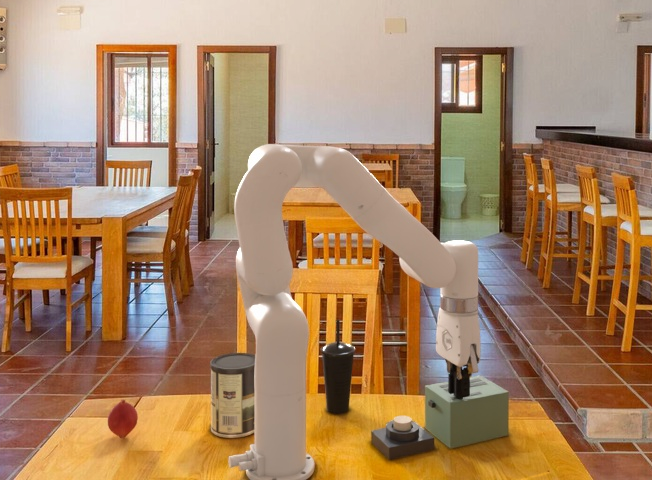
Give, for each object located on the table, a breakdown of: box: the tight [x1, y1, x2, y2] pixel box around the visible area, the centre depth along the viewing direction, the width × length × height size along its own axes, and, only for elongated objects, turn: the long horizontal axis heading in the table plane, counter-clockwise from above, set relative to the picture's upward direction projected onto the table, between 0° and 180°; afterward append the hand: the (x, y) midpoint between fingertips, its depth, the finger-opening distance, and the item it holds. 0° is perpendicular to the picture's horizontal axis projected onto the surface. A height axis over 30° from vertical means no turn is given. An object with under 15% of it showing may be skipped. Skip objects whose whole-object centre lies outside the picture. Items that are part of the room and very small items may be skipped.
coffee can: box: [209, 352, 256, 439], centre depth 148 cm, size 10×10×14 cm
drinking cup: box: [320, 319, 356, 415], centre depth 157 cm, size 8×8×20 cm
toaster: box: [424, 375, 510, 449], centre depth 146 cm, size 15×10×9 cm
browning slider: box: [454, 371, 457, 396], centre depth 142 cm, size 2×2×5 cm
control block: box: [370, 419, 435, 461], centre depth 140 cm, size 10×8×4 cm
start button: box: [392, 415, 413, 431], centre depth 140 cm, size 4×4×2 cm
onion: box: [107, 398, 139, 439], centre depth 144 cm, size 6×6×8 cm
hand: (459, 394), depth 142 cm, fingers closed on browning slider
